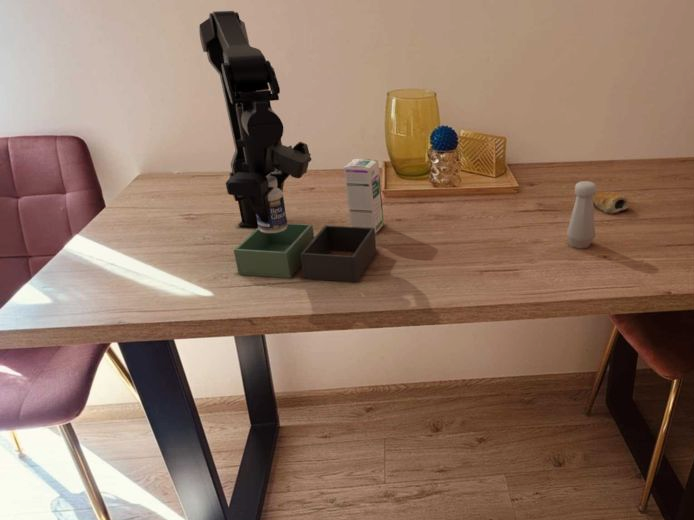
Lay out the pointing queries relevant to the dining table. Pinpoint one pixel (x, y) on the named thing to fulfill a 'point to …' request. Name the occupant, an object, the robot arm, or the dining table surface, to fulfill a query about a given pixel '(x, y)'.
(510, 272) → the dining table surface
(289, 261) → the green bin
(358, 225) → the syrup box
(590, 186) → the salt shaker
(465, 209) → the dining table surface
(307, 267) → the charcoal crate
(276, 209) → the pill bottle
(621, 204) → the pastry
